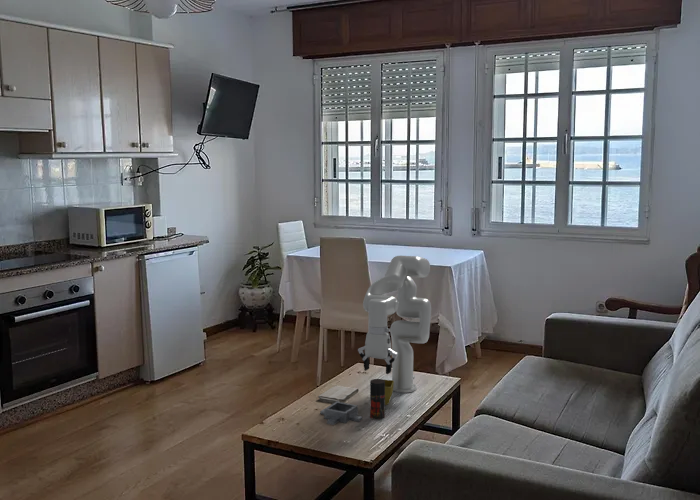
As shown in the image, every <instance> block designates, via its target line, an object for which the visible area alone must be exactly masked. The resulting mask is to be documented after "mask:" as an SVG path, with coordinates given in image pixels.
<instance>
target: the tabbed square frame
mask: <svg viewBox="0 0 700 500" xmlns="http://www.w3.org/2000/svg"><path fill="white" fill-rule="evenodd" d="M358 411H359V405H357V404H351V403H347V402H344V403H343V402H337V401H336V402H335V403H331V404H330V405H329V406H327V407H326V408H323V409H322V410H320V415H323V416H324V417H323V419H325V420H326V424H328V425H332V426H334V425H335V424H338V422H339V423H344V424H347V423H349V422H350V421H352V422H358V423H360V422H361V421H363V416H361V415H359V412H358Z"/></svg>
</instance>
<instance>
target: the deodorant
mask: <svg viewBox="0 0 700 500" xmlns="http://www.w3.org/2000/svg"><path fill="white" fill-rule="evenodd" d="M385 380H386V379H382V378H372V379H371V380H370V382H369V383H370V385H369V386H370V388H369V393H370V394H369V395H370V396H369V398H370V400H369V401H370V403H369V411H370V412H369V415H370V416H369V417H370V418H371V419H372V420H378V421H379V420H383V419H385V417H386V416H385V415H386V411H385V410H386V405H385Z"/></svg>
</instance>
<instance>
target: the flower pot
mask: <svg viewBox="0 0 700 500" xmlns="http://www.w3.org/2000/svg"><path fill="white" fill-rule="evenodd" d="M384 380H385V406H388V405H389V403H390V401H391V398H392V396H393V392H394V391H393V385H394V381H393V380H392V379H384Z"/></svg>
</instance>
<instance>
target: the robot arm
mask: <svg viewBox="0 0 700 500" xmlns="http://www.w3.org/2000/svg"><path fill="white" fill-rule="evenodd" d="M430 272H431V263H430V260H429V259H428V258H423V257H421V256H416V255H395V256H393V257H392V259H391V260H390V263H389V265H388V266H387V270H386V271H385V274H384V276H383V277H381V278H379V279H378V280H376V281H374V283H371V285H369V287H368V289H367V290H366V293H365V295H364V298H363V302H362V308H363V310H364V311H365V312H367V313H368V326H367V327H368V331H367V332H366V336H365V342H364V346H362V347H359V348H357V352H358V354H359V356H360V358H361V359H362V361H363V370H364V371H368V370H369V369H370V359H369V358H372V359H379V360H384V361H385V362H386V364H385V374H386V375H389V374H391V380H393V381H394V385H393V392H395V393H398V394H399V393H401V394H402V393H403V394H406V393H408V394H409V393H412V392H415V391H416V390H417V385H416V384H415V383H414V380H415V378H416V376H415V375H414V349H413V347H412V346H411V344H410V343H413V344H425V343H426V344H427V342H428V340H429V338H430V329H431V322H432V321H431V319H432V303H431V301H430V300H429V299H428V298H424V297H417V292H418V291H417V290H418V286H417V284H416V282H415V280H414V279H413V278H423V279H424V278H427V277H428V276H429V274H430ZM395 291H397V297H395V296H392V295H385V294H388V293H392V292H395ZM395 313H396V315H397V316H398V317H400V318H407V319H414V320H415V319H417V320H418V321H412V320H402V319H401V320H395V321H393V322H392V324H391V325H390V328H388V327H389V326H388V316H391V315H393V314H395ZM389 332H390V333H389ZM390 336H391V337H390ZM391 357H392V358H391ZM391 372H392V373H391Z"/></svg>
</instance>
